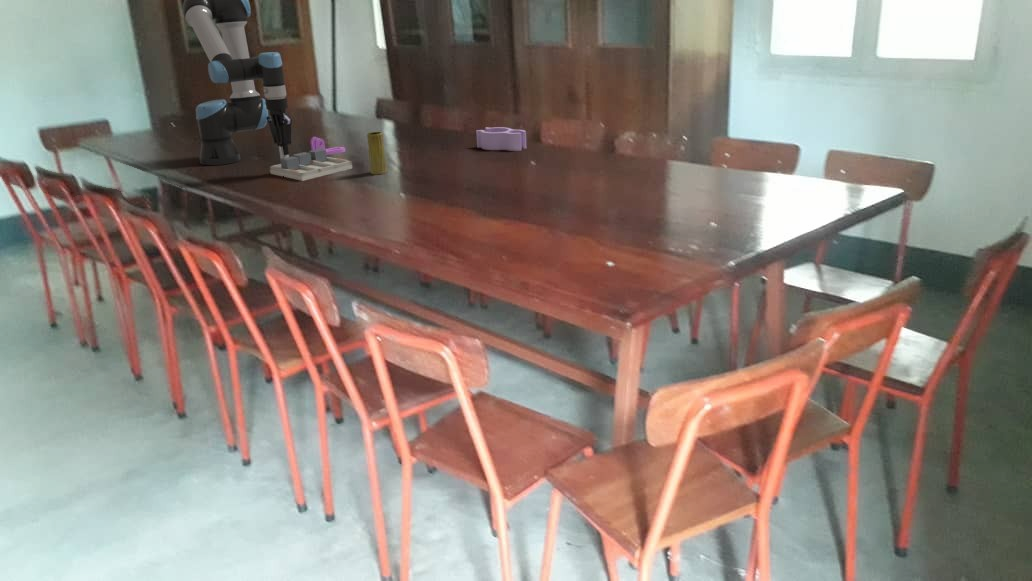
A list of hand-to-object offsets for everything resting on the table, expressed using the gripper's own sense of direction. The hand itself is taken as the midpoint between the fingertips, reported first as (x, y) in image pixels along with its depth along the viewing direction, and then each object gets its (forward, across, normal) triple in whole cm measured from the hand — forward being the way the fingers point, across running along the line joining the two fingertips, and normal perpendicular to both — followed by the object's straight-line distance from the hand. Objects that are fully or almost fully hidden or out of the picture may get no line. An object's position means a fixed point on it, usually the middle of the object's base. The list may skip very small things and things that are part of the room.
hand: (285, 163), depth 292 cm
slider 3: (+2, 0, +14) cm, 14 cm away
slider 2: (+2, 0, +7) cm, 7 cm away
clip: (+4, +38, +76) cm, 85 cm away
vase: (+4, +29, +19) cm, 35 cm away
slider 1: (+2, +3, 0) cm, 3 cm away
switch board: (+4, +5, +7) cm, 10 cm away
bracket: (+4, -16, +31) cm, 35 cm away
